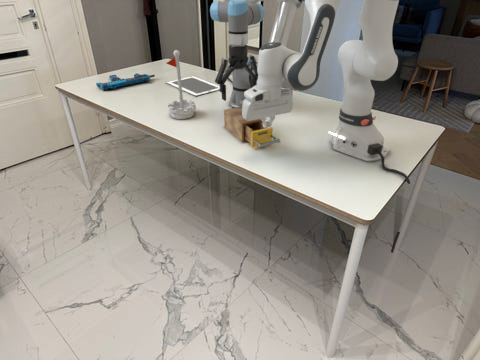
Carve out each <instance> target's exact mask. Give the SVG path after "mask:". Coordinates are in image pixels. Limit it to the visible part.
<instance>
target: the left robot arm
mask: <svg viewBox="0 0 480 360" xmlns="http://www.w3.org/2000/svg"><path fill="white" fill-rule="evenodd" d="M264 1H266V0H223V1H221V0H218V1H213V2H212V3H211V5H210V6H209V7H210V8H209V13H210V18H211V20H212V21H214V22H218V23H228V33H227V35H228V44H229V45H228V58H224V57H223V58H221V63H220V67H219V69H218V71H217V75H216V77H215V79H214V84H216V85H218V86H220V90H219V92H220V94H221V99H222V101H225V102H226V101H227V85H226V82H227V80H228V81H229V82H231V84H232V91H231V94H230V97H229V103H228V104H229V106H230V107H231V108H235V107H241V106H243V101H244V99H245V98H246V97H244V92H245V91H247V90H249V89H250V88H252V87H254V86H255V85H257V80H258V72H257V64H258V61H257V58H256V57H255V55H253V54H250V55H248V54H249V45H248V43H249V26H252V25H257V24H258V23H261V22H262V21H263V20H264V18H265V14H266V13H265V8H264V6H263V5H262V4H261V3H259V2H264ZM276 2H277V4H278V7H277V10H276V15H275V17H274V21H273V25H272V28H271V33H270V37H269V40H268V43H271V42H279V43H281V44H282V45H283V46H285V47H286V48H287V46H288V42H289V38H290V35H291V31H292V28H293V24H294V21H295V16H296V13H297V11H298V9H300V8H301V7H302V4H303V2H305V0H276ZM230 76H231V77H232V79H230ZM285 82H286V80H283V81H282V86H284V83H285Z"/></svg>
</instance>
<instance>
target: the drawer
mask: <svg viewBox="0 0 480 360" xmlns="http://www.w3.org/2000/svg"><path fill="white" fill-rule="evenodd" d="M273 130H274V128H273V127H272V126H271V127H267V128H264V127H263V123H262V122H257V123H252V124H247V125H244V138H245V139H246V140H247V141H246V142H248V143H249V144H250V147H251V148H256V147H259V148H262V147H267V146H271V145H274V144H275V145H276V144H279V143H281V139H280V138H277V137H276V136H274V135H273Z"/></svg>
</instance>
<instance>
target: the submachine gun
mask: <svg viewBox="0 0 480 360" xmlns="http://www.w3.org/2000/svg"><path fill="white" fill-rule="evenodd" d="M154 77H156V75H155V74H150V75H149V74H146V73H142V74H140V73H135V74H133V77H129V78H121V77H119V76H117V75H116V74H112V75H109V79H110V80H111V81H108V82H96V83H95V84H96V85H95V86H96V87H97V88H99V89H100V90H101V91H103V90H108V89H110V90H112V89H113V90H116V88H120V87H123V86H128V85H133V84H138V83H143V82H148V81H149V80H150V79H151V78H154Z"/></svg>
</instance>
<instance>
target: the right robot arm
mask: <svg viewBox="0 0 480 360" xmlns="http://www.w3.org/2000/svg"><path fill="white" fill-rule="evenodd" d="M340 2H341V0H305V1H304V6H305V9H306V12H307V13H308V16H309V20H310V28H309V31H308V35H307V38H306V41H305V43H304V47H303V50H302V52H299V51H296V50H292V49H290V48H289V47H287V46H286V47H285V46H283V45H282V44H281V43H279V42H271V43H269V42H268V43H265V44H263V45H262V46H261V47H260V48H259V51H258V55H257V62H258V64H257V72H258V80H257V85H255V86H254V87H252V88H250V89H249V90H247V91H245V92H244V97H246V98H245V99H244V101H243V106H242V117H243V118H244V119H245V120H247V121H252V120H256V119H261V120H262V122H263V127H264V128H267V127H268V128H269V127H272V126H273V122H274V120H275V118H276V116H280V115H284V114H288V113H292V111H293V109H294V101H293V99H294V98H293V94H294V91H293V89H294V90H296V91H298V92H299V91H300V92H303V91H308V90H309V89H311V88H312V87H314V86H315V85H316V83H317V82H318V80H319V78H320V73H321V62H322V58H323V55H324V52H325V49H326V47H327V44H328V41H329V39H330V36H331V33H332V29H333V26H334V22H335V18H336V14H337V10H338V7H339V5H340ZM399 2H400V0H362V5H361V8H360V13H359V18H358V26H359V28H360V29H361V34H362V40H361V39H351V40H349V39H348V40H347V41H345V42H344V43H342V44H341V46H340V47H339V48H338V52H337V61H338V63H339V65H340V67H341V71H342V80H343V95H342V103H341V108H340V109H339V113H338V122H337V123H338V124H337V127H336V130H335V132H332V131H328V134H330V135H332V136H333V137H332V139H331V144H332V149H333V150H334V151H336V152H340V153H343V154H344V155H345V154H346V155H348V156H351V157H354V158H356V159H359V160H361V161H365V162H374V161H379V160H380V161H381V168H382V169H383V170H385V171H386V172H393V173H395V174H398V175H400V176H402V177H403V178H404V179H405V181H406V183H407V184H408V185H410V184H411V181H410V179H409V176H408V175H407V174H406V173H404V172H402V171H400V170H397V169H394V168H388V167H386V165H385V164H386V163H385V157H387V155H388V154H389V152H390V150H389V148H387V147H386V146H385V138H384V135H383V134H382V133H381V131H379V128H377V126H376V125H375V124H374V121H375V120H376V119H377V116H373V113H372V109H373V104H374V100H375V95H376V94H375V93H376V92H375V89H374V87H373V85H372V82H371V81H379V82H384V81H387V80H389V79H390V78H391V77H393V76H394V74H395V73H396V71H397V68H398V65H399V58H398V55H397V54H396V52H395V49H394V44H393V43H394V42H393V29H394V28H393V27H394V21H395V18H396V14H397V10H398V6H399V4H400V3H399ZM283 80H285V81H287V82H288V84H290V86H291V87H292V88H293V89H292V88H291V87H285V88H283V85H282V81H283ZM267 118H268V120H267ZM266 120H267V121H266ZM400 234H401V231H396V235H395V237H394V239H393V243H392V246H391V249H390V253H391V254H393V253H394V250H395V248H396V245H397V242H398V239H399V236H400Z"/></svg>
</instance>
